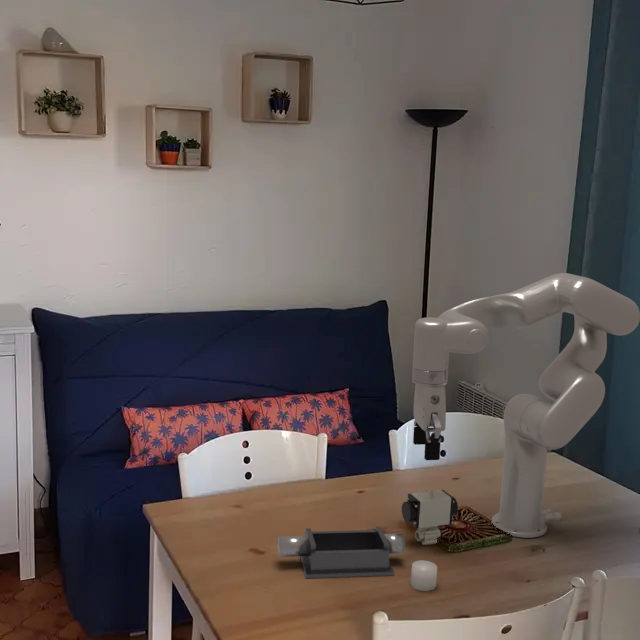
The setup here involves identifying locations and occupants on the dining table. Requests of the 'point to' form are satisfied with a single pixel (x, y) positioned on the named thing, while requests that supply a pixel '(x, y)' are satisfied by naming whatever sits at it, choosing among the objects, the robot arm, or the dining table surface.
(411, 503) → the pneumatic valve
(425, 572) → the end cap
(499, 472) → the dining table surface
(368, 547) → the pipe bracket
